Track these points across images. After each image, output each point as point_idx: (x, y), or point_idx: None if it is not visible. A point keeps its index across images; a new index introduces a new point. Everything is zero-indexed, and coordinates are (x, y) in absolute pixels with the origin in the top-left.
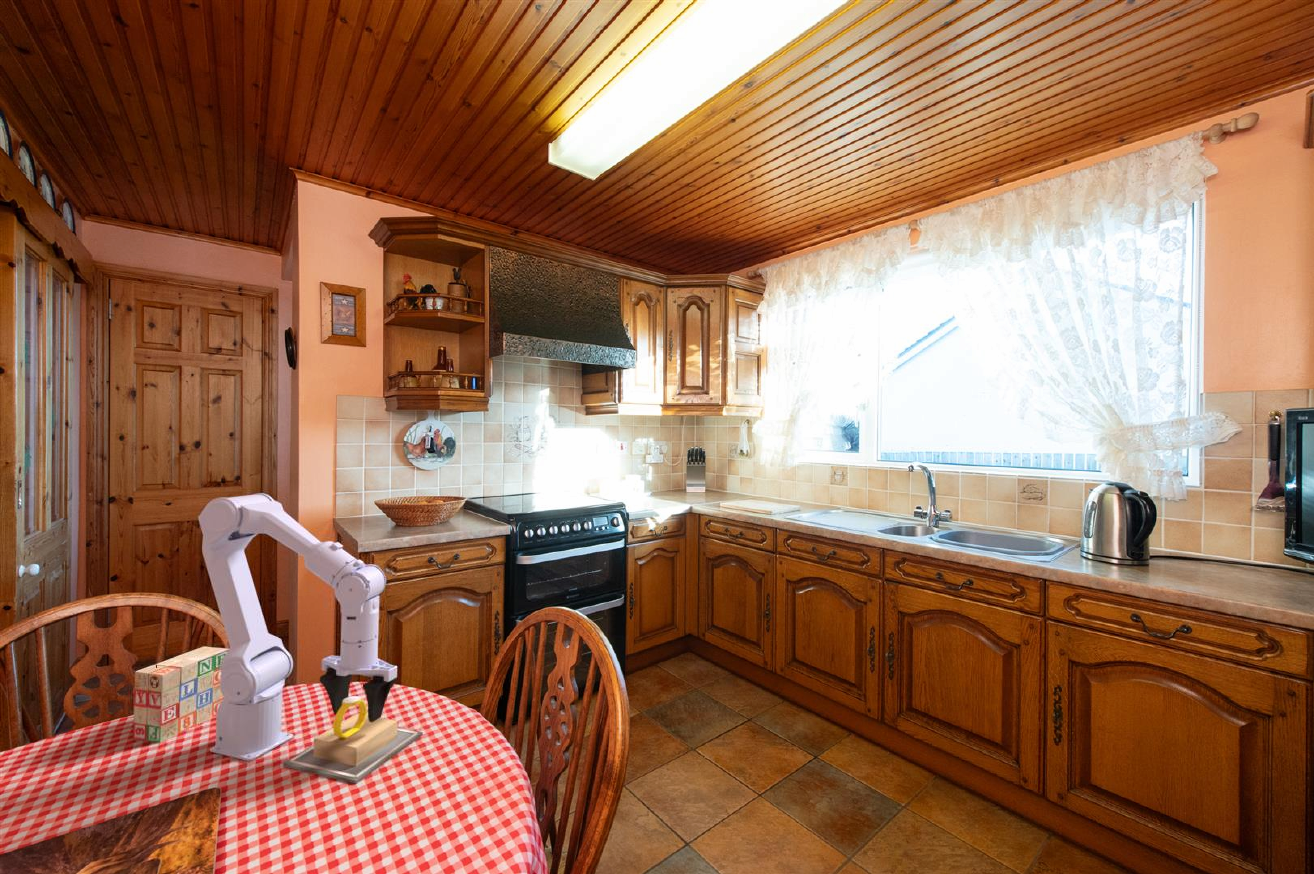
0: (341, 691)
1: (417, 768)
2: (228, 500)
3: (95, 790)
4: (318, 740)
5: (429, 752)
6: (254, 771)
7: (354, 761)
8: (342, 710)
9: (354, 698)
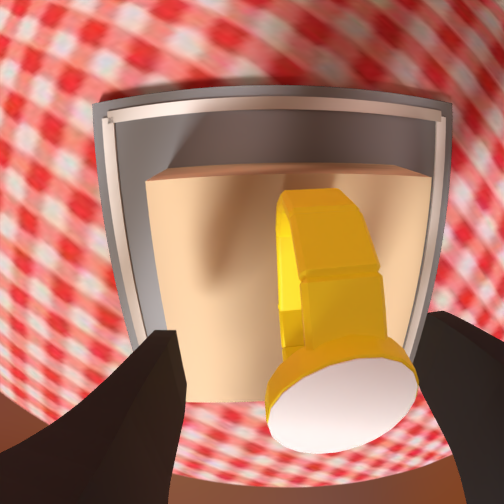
0: (481, 423)
1: (14, 253)
2: None
3: None
4: (404, 175)
5: (53, 327)
6: (487, 67)
7: (173, 170)
8: (333, 286)
9: (334, 429)
